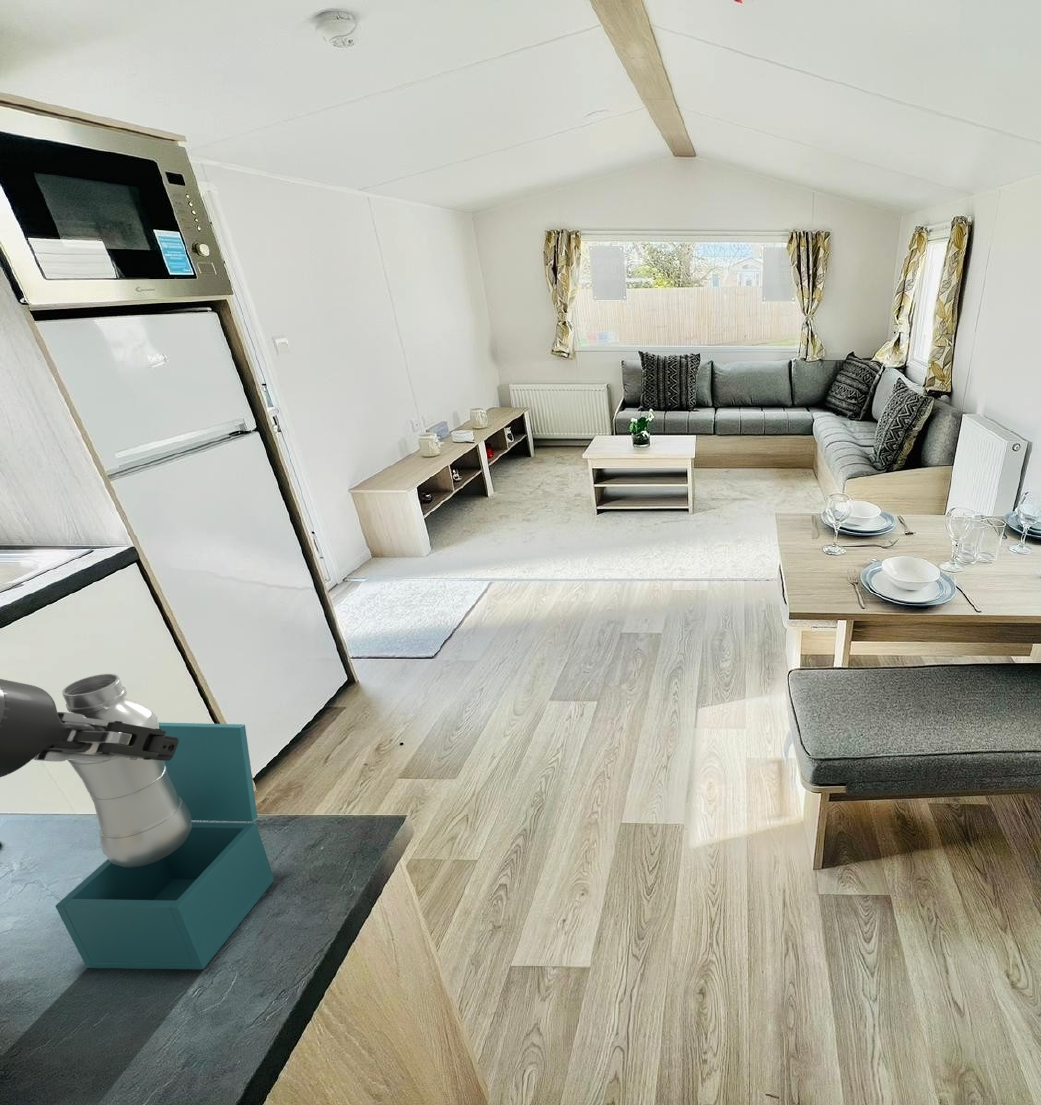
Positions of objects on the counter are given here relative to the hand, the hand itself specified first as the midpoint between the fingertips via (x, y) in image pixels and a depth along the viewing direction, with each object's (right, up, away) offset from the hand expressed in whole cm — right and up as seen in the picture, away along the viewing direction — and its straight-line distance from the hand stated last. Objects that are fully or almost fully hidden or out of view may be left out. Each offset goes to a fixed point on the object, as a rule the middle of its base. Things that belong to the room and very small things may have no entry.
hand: (135, 748), depth 61 cm
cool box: (-1, -21, +7) cm, 22 cm away
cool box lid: (0, -5, +7) cm, 8 cm away
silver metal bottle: (-1, -12, +3) cm, 12 cm away
